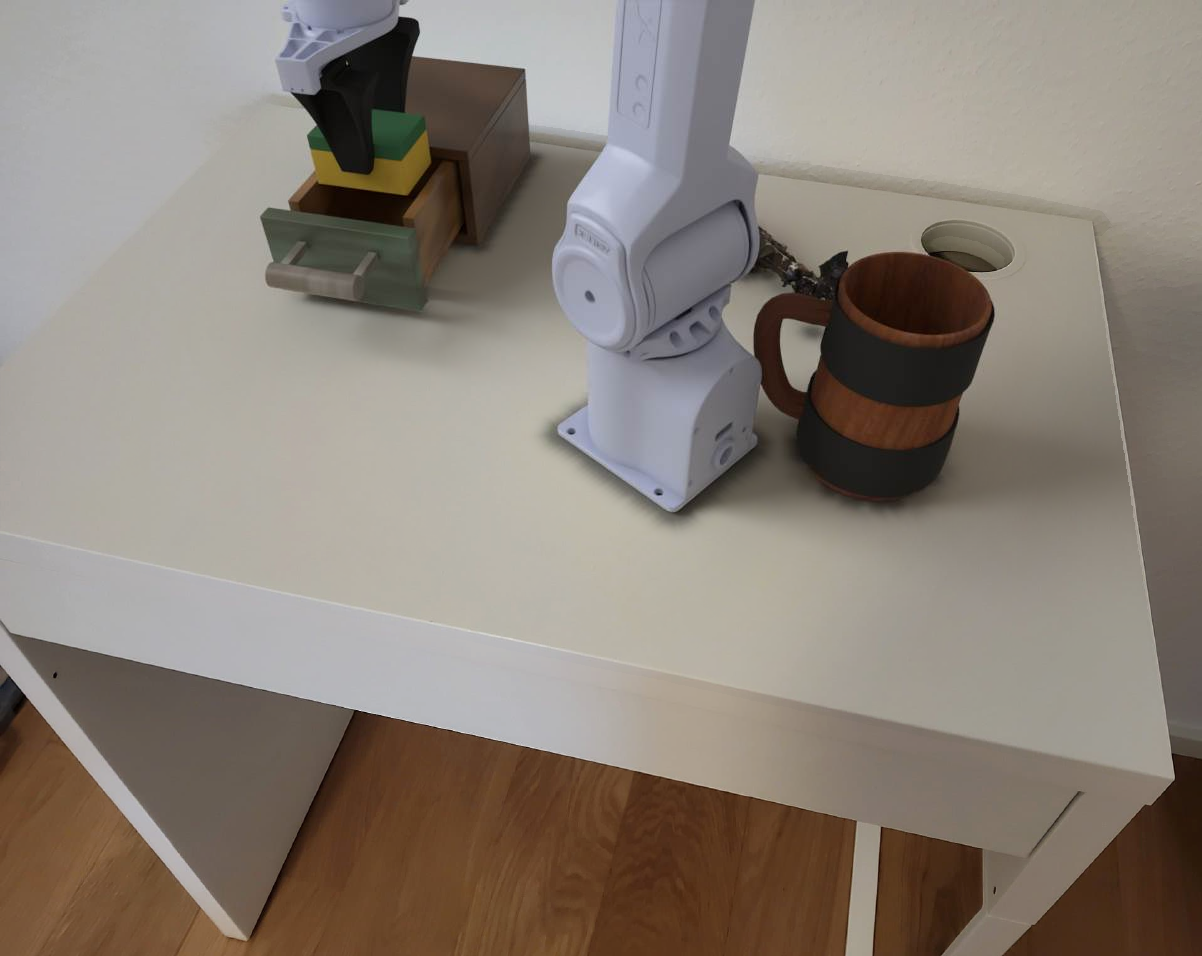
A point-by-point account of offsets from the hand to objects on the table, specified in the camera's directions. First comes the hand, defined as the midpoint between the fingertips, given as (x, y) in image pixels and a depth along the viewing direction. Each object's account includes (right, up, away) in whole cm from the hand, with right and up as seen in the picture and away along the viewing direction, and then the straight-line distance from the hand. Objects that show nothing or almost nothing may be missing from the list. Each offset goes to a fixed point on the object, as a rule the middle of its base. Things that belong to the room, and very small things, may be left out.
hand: (372, 151), depth 63 cm
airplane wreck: (+26, -7, +5) cm, 27 cm away
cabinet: (+2, +1, +12) cm, 13 cm away
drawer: (-1, -7, +4) cm, 8 cm away
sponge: (0, -1, +1) cm, 2 cm away
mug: (+30, -21, -7) cm, 37 cm away
